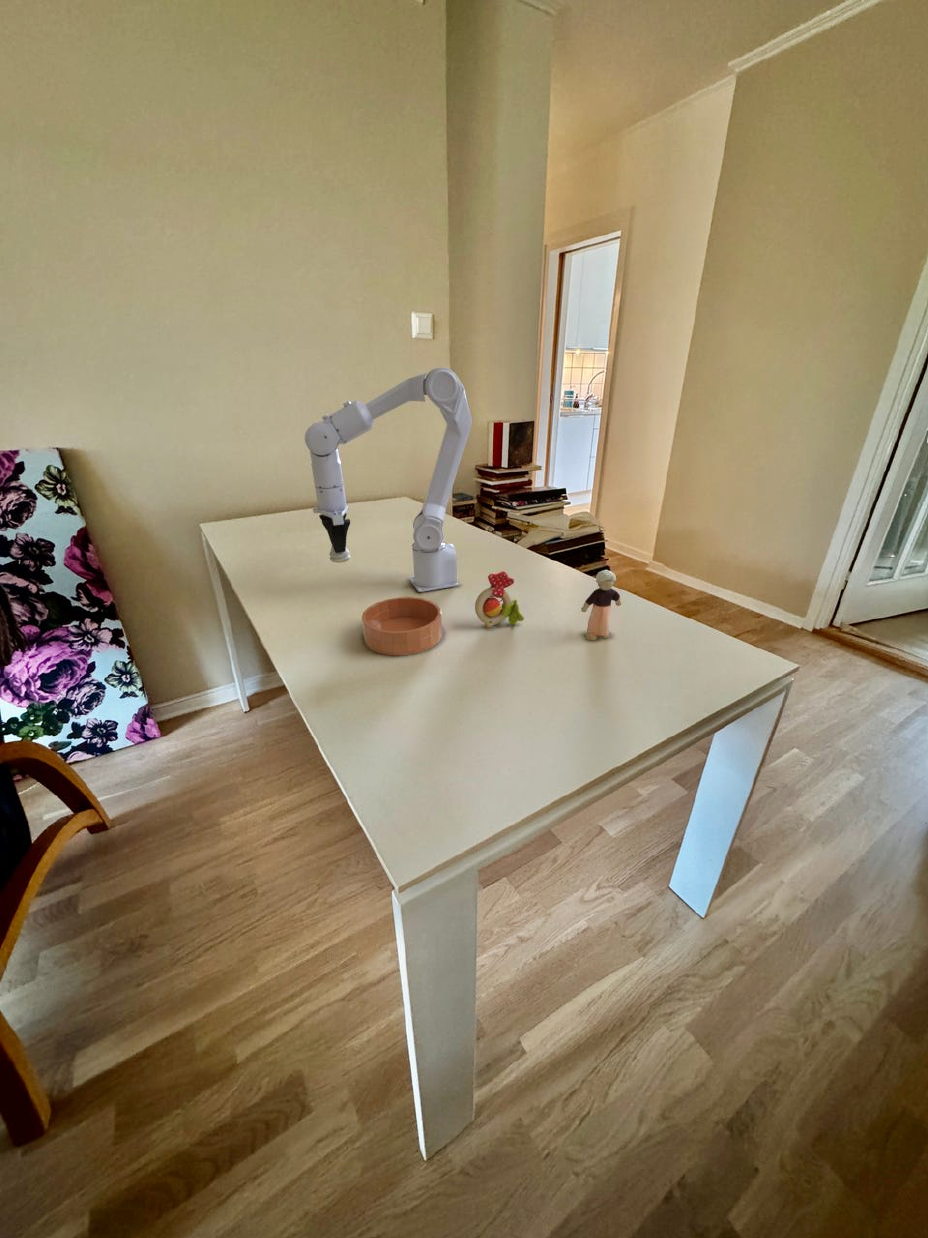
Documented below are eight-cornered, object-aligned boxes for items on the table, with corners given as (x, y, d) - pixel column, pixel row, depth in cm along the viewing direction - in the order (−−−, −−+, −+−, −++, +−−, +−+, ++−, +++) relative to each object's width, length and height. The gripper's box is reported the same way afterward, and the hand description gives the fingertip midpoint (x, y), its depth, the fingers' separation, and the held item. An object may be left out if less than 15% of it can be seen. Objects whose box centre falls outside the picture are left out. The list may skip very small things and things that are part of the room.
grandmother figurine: (589, 645, 84) (597, 578, 79) (575, 635, 87) (582, 570, 82) (622, 634, 88) (632, 569, 82) (607, 625, 91) (616, 562, 85)
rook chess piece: (355, 558, 106) (350, 522, 102) (340, 564, 102) (334, 528, 99) (340, 554, 108) (335, 519, 104) (325, 560, 105) (319, 525, 101)
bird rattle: (496, 644, 89) (535, 617, 91) (474, 599, 83) (516, 571, 85) (481, 629, 94) (517, 604, 96) (459, 586, 88) (498, 560, 90)
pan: (428, 612, 97) (427, 592, 95) (452, 645, 85) (452, 623, 83) (358, 625, 92) (355, 604, 90) (373, 662, 81) (370, 639, 78)
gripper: (306, 480, 103) (316, 541, 109) (312, 494, 91) (323, 562, 97) (339, 477, 105) (347, 537, 111) (350, 491, 93) (358, 557, 99)
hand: (338, 549), depth 104 cm, fingers closed on rook chess piece, 3 cm apart
